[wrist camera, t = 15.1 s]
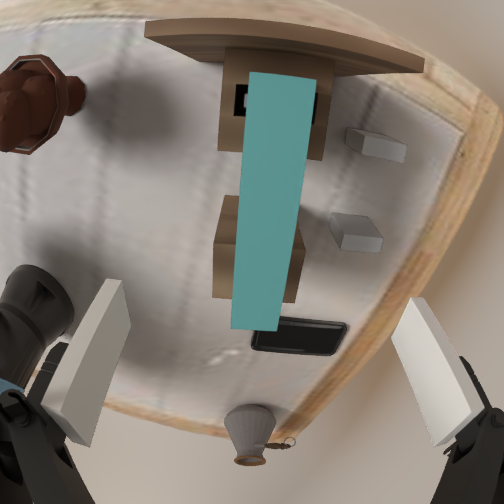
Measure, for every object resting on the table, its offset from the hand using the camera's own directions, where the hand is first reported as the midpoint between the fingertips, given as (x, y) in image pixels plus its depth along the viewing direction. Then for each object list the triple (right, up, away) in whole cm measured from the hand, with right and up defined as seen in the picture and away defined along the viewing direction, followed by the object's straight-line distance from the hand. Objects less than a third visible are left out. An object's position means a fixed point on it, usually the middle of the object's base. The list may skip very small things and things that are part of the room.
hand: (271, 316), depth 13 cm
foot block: (0, +7, +25) cm, 26 cm away
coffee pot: (+1, -29, +47) cm, 55 cm away
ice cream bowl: (-24, +22, +16) cm, 37 cm away
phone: (+7, -11, +36) cm, 38 cm away
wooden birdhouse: (+1, +20, +17) cm, 26 cm away
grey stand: (+12, +12, +22) cm, 28 cm away
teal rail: (0, +9, +15) cm, 18 cm away
